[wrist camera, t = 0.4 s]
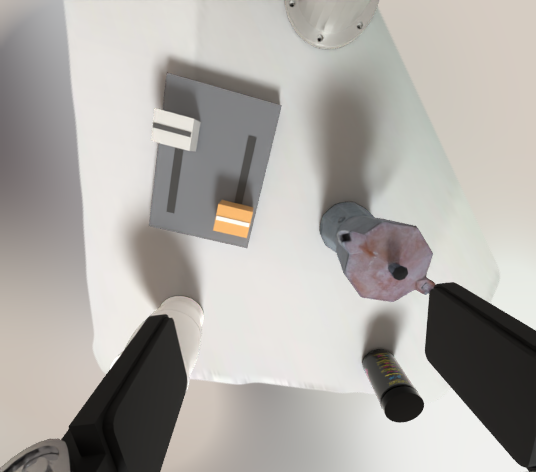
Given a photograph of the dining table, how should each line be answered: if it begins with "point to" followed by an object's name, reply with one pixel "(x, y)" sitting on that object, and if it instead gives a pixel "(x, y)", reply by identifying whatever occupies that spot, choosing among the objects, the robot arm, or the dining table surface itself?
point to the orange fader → (233, 218)
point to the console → (212, 158)
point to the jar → (182, 327)
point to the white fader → (175, 130)
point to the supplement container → (392, 386)
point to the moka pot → (377, 252)
